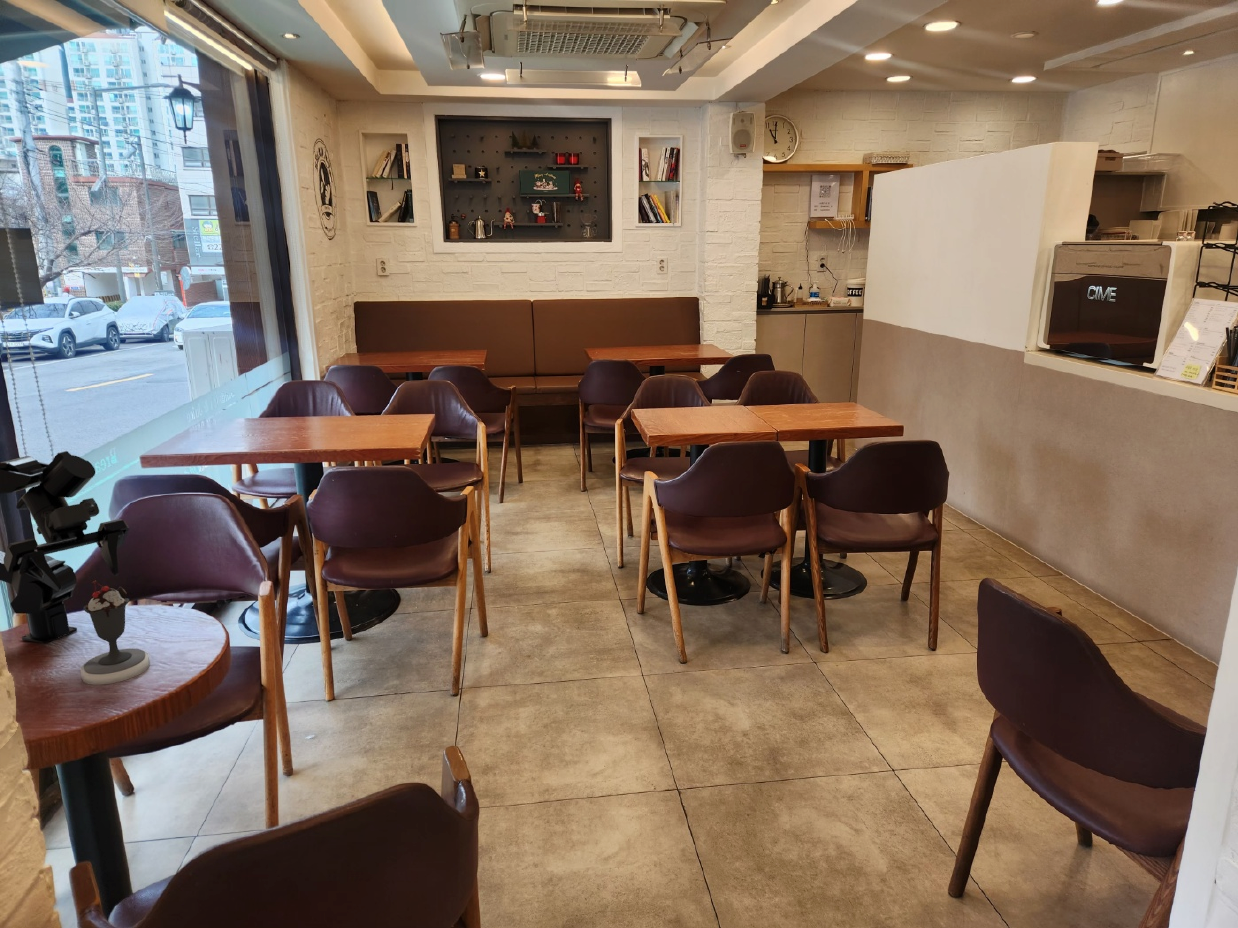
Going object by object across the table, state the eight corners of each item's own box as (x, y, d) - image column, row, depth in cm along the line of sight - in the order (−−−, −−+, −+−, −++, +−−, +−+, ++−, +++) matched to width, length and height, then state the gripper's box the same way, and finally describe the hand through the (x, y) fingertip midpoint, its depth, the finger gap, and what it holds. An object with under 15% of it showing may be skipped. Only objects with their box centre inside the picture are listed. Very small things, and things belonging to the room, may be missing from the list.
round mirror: (67, 679, 132) (65, 668, 132) (121, 654, 142) (119, 644, 141) (111, 688, 129) (109, 677, 129) (163, 661, 139) (161, 651, 138)
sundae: (90, 671, 131) (76, 586, 128) (94, 655, 137) (81, 574, 134) (136, 662, 134) (124, 579, 131) (138, 647, 140) (126, 567, 137)
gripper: (-3, 498, 132) (36, 572, 128) (117, 477, 147) (154, 542, 143) (-12, 536, 138) (25, 607, 134) (103, 511, 153) (139, 575, 149)
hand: (89, 581), depth 140 cm, fingers open, 9 cm apart
